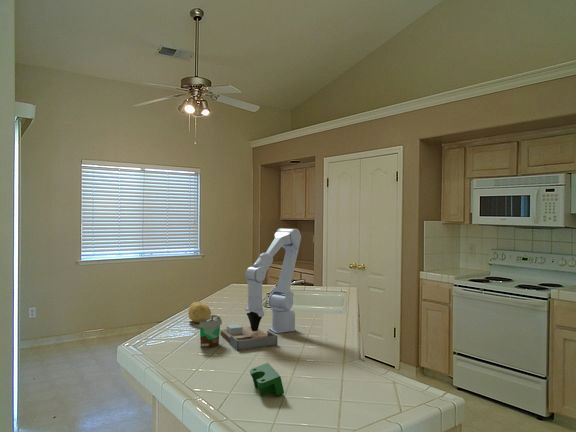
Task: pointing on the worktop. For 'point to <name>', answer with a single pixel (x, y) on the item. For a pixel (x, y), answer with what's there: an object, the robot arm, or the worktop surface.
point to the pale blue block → (234, 329)
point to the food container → (210, 332)
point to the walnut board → (243, 336)
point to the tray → (254, 342)
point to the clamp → (267, 380)
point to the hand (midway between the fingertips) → (254, 330)
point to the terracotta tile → (258, 335)
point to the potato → (199, 312)
